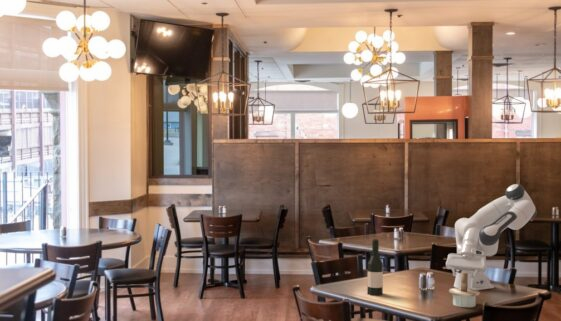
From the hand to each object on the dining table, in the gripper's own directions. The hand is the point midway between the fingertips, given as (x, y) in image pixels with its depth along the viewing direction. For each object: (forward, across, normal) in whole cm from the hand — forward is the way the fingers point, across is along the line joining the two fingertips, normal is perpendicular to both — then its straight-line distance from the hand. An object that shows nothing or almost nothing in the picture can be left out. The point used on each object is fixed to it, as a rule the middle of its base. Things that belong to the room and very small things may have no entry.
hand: (463, 276), depth 345 cm
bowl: (+11, +1, +10) cm, 14 cm away
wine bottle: (+10, -47, +10) cm, 50 cm away
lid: (+6, +1, +5) cm, 8 cm away
